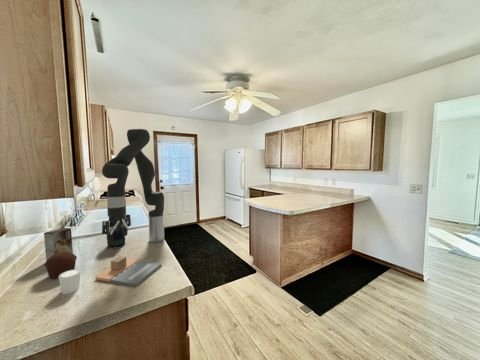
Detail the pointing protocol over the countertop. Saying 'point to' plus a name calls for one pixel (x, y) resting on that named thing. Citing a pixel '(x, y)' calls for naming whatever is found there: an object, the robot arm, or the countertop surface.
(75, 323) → the countertop surface
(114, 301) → the countertop surface
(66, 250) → the coffee box
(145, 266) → the board
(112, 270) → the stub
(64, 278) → the shot glass
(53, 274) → the muffin
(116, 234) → the storage jar
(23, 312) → the countertop surface
